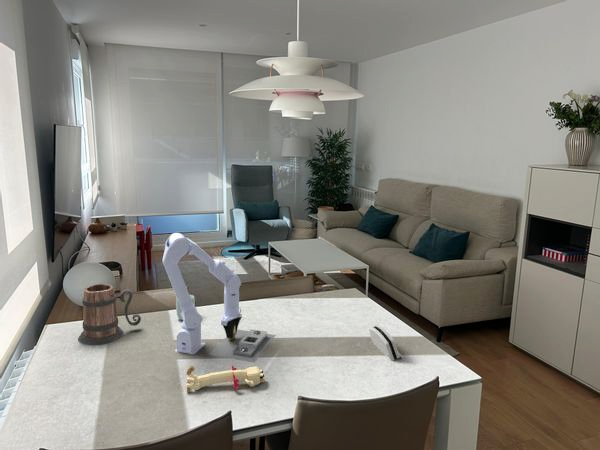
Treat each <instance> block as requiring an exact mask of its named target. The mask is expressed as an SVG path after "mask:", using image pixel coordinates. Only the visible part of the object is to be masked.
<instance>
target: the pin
mask: <svg viewBox="0 0 600 450" xmlns="http://www.w3.org/2000/svg"><path fill="white" fill-rule="evenodd" d="M228 341H229V342H233V341H235V327H234V332H233V337H232V338H228Z"/></svg>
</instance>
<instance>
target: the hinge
mask: <svg viewBox="0 0 600 450" xmlns="http://www.w3.org/2000/svg"><path fill="white" fill-rule="evenodd" d="M368 332H369V334H370V339H371V342H372V343H373V344H374V346H376V347H377V348H378V349H379V350H380V351H381V352H382V353H383V354H384V355H385V356H386V357H387V359H389V360H390V361H391V362H393V361H395V359H399V358H400V359H401V360H403V359H404V357H403V354H401V352H399V349H398V347H397V345H396V341H395V340H394V339H395V338H393V337H392V336H391V335H390V332H388V331H387V330H386V329H385V328H383V326H381V325H378V324H377V325H374V327H372V326H371V327H369V328H368Z"/></svg>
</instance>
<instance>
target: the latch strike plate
mask: <svg viewBox="0 0 600 450" xmlns="http://www.w3.org/2000/svg"><path fill="white" fill-rule="evenodd" d="M248 331H249V332H248V333H247V334H246V335H245V336H244V337H243V338H242V339H241V341H240V342H239V346H238V347H237V348H236V349H235V350H234V351H233V355H239V356H246V357H252V355H253V354H254V353H255V352H256V351H257V349H258V348H259V347H260V346H261V345H262V343H263V342H264V341H265V340H266V338H267V335H268V334H269V332H268V331H266V330H265V331H264V330H260V329H249V330H248Z"/></svg>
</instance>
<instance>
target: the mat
mask: <svg viewBox="0 0 600 450" xmlns="http://www.w3.org/2000/svg"><path fill="white" fill-rule="evenodd" d="M249 331H250V330H242V329H237V333H236V335H235V341H233V342H229V341H228V338H227V336H226V337H225V338H224V339H223V340H222V341H221V342H219V344H217V345H216V347H215V348H213V350H212V351H210V353H208V355H209V356H215V357H220V358H226V359H230V360H231V359H232V360H238V361H244V362H250V363H255V362H256V361H257V359H258V358H259V357H260V356H261V355H262V354H263V352H264V351H265V350H266V348H267V347H268V346H269V344H271V342H272V341H273V340H274V338H275V337H276V334H270V333H268V335H267V338H266V340H265V341H264V342H263V343H262V345H261V346H260V347H259V348H258V349H257V351H256V352H255V353H254V354H253V355H252V357H246V356H239V355H233V351H234V350H235V349H236V348H237V347H238V346H239V342H240V341H241V339H242V338H243V337H244V336H245V335H246V334H247V333H248V332H249ZM208 355H207V356H208Z"/></svg>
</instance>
